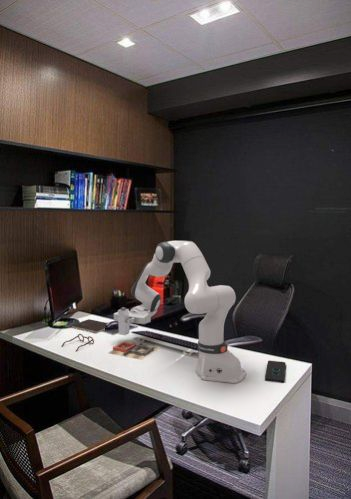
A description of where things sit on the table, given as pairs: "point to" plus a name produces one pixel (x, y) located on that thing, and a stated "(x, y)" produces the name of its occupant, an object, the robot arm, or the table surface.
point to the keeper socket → (124, 348)
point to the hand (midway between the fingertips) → (122, 321)
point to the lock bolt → (123, 321)
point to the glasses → (81, 340)
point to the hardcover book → (90, 326)
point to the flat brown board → (136, 351)
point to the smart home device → (275, 371)
